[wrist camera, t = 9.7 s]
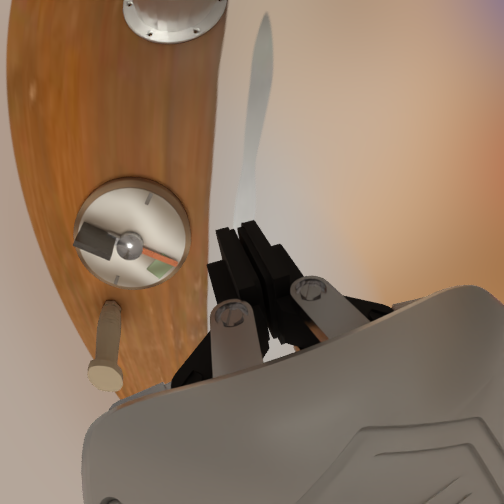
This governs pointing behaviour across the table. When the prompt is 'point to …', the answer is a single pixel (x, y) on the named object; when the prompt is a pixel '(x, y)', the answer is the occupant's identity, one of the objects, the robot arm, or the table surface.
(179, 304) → the table surface
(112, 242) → the dial pointer
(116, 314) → the handle
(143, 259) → the base
